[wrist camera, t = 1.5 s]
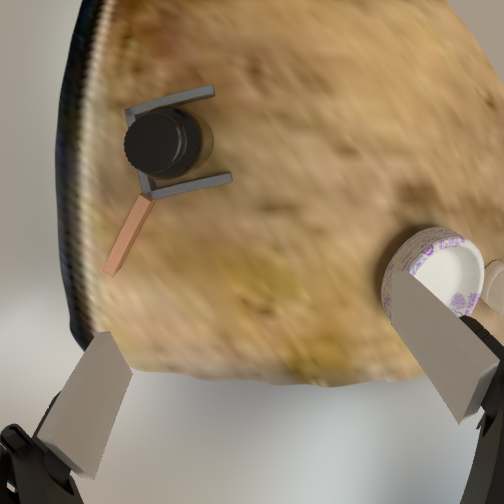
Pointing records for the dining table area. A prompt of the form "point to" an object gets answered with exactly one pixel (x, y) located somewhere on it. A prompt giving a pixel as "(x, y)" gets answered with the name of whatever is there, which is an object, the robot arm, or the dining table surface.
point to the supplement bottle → (168, 142)
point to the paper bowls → (439, 269)
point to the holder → (147, 183)
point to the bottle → (494, 286)
